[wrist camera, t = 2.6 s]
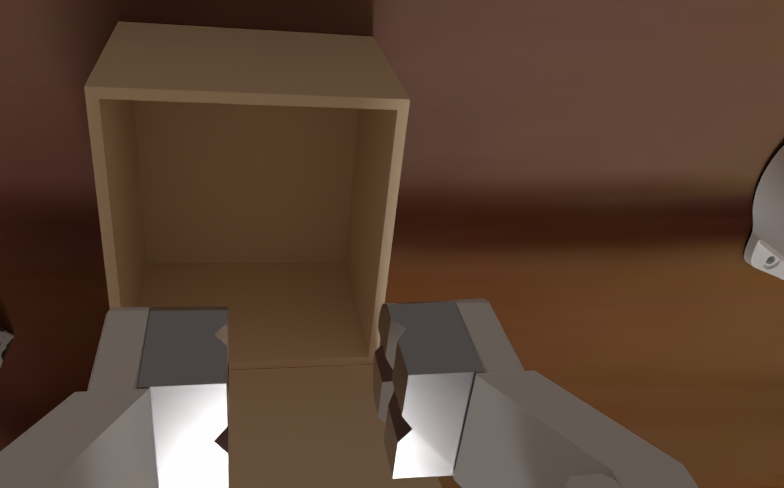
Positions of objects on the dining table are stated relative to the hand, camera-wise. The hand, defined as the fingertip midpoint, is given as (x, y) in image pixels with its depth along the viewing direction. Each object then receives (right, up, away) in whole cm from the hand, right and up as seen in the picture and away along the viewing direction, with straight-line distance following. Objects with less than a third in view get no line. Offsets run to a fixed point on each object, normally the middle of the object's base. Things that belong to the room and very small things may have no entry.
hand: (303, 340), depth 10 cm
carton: (-9, +7, +40) cm, 42 cm away
